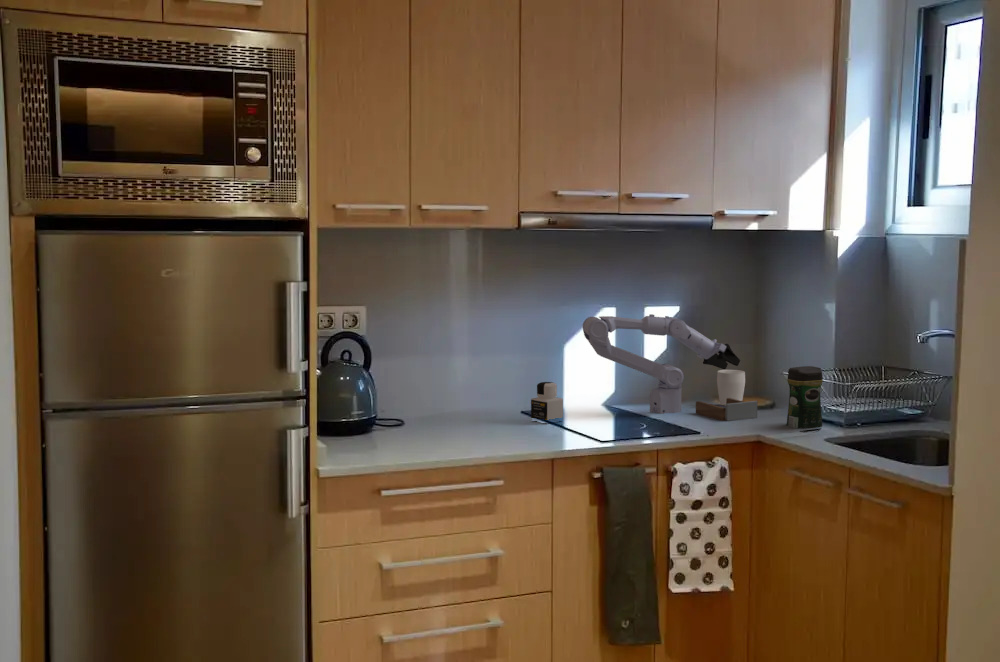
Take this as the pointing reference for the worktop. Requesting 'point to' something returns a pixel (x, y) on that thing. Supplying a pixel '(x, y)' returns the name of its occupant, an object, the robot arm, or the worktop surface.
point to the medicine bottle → (546, 402)
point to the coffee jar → (805, 398)
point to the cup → (730, 385)
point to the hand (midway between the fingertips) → (732, 365)
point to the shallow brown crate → (713, 409)
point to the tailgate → (741, 410)
